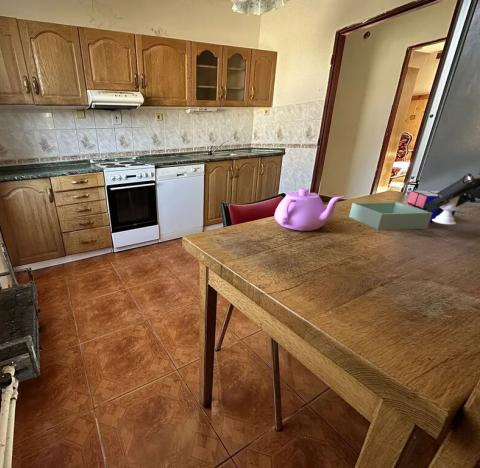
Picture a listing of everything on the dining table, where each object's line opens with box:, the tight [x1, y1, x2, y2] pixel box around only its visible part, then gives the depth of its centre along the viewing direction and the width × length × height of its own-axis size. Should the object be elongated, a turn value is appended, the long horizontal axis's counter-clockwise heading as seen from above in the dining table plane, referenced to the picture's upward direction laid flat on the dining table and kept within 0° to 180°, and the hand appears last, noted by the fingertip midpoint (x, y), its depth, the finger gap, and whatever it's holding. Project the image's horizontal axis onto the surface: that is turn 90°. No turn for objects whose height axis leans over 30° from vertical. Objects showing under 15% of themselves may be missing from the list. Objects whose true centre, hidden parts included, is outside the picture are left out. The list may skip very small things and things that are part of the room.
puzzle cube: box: [406, 190, 456, 224], centre depth 98 cm, size 10×10×10 cm
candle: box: [432, 196, 461, 225], centre depth 79 cm, size 5×5×12 cm
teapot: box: [274, 188, 343, 232], centre depth 92 cm, size 22×22×14 cm
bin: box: [348, 201, 432, 231], centre depth 96 cm, size 17×15×6 cm
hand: (435, 208), depth 83 cm, fingers closed on candle, 5 cm apart
